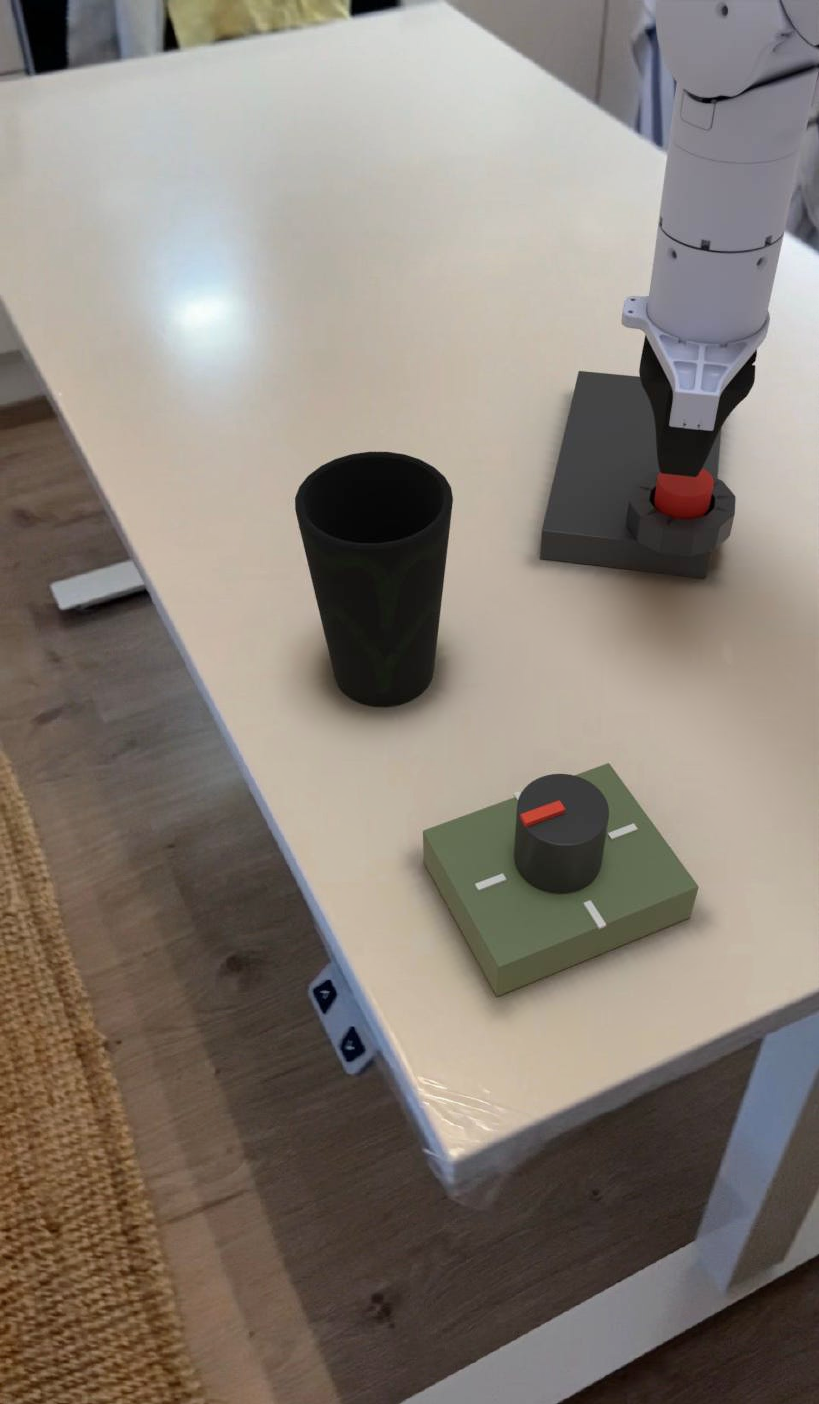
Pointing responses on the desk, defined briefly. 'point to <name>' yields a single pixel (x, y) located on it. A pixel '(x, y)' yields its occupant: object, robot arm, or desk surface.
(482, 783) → the desk surface
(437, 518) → the cup
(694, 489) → the power button
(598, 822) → the timer dial
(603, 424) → the power block
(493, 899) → the panel
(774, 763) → the desk surface
